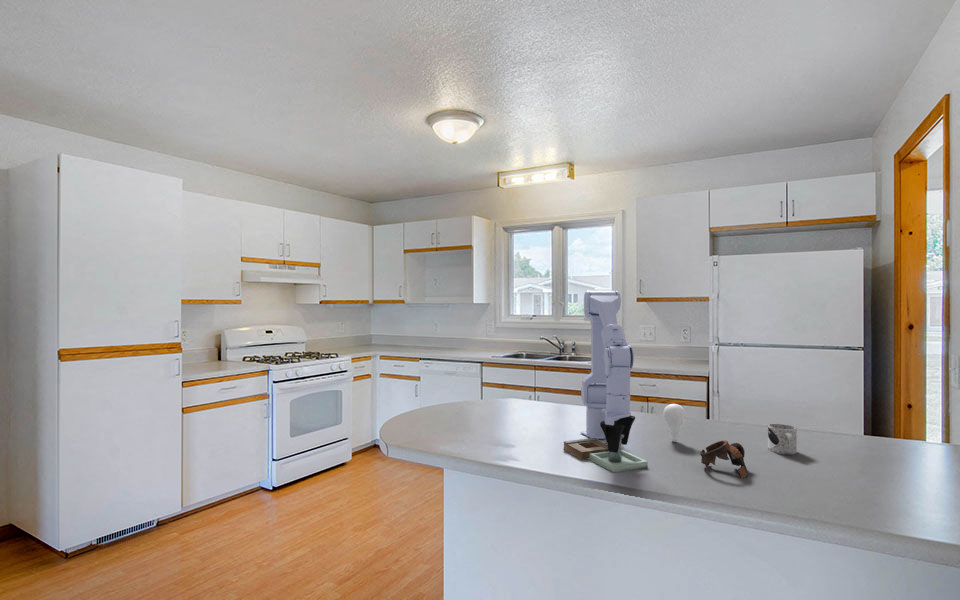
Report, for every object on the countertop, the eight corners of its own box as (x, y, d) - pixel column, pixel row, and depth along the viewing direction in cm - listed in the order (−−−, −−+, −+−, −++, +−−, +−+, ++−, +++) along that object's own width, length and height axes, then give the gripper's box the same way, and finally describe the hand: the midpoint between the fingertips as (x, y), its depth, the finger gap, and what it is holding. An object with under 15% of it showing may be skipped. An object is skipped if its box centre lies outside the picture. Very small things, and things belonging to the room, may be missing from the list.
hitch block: (594, 445, 137) (594, 437, 137) (614, 455, 128) (614, 446, 128) (563, 449, 133) (563, 441, 133) (581, 459, 125) (581, 450, 125)
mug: (764, 446, 137) (764, 422, 137) (790, 448, 136) (790, 424, 136) (778, 457, 127) (778, 432, 127) (806, 459, 126) (806, 433, 126)
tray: (622, 455, 128) (622, 449, 128) (647, 467, 119) (647, 461, 119) (589, 459, 125) (589, 453, 125) (613, 472, 116) (613, 466, 116)
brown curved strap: (740, 484, 110) (719, 450, 112) (706, 490, 117) (688, 458, 119) (764, 461, 117) (744, 429, 119) (730, 468, 124) (712, 437, 126)
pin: (613, 456, 126) (613, 430, 126) (627, 461, 122) (627, 434, 122) (602, 460, 123) (602, 433, 123) (616, 464, 120) (616, 437, 120)
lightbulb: (662, 443, 139) (663, 405, 139) (663, 438, 145) (663, 401, 145) (686, 446, 137) (686, 407, 137) (685, 440, 143) (685, 402, 143)
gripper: (611, 387, 130) (611, 438, 130) (592, 396, 118) (592, 452, 118) (638, 390, 126) (638, 442, 126) (621, 399, 114) (621, 457, 114)
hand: (618, 447), depth 122 cm, fingers open, 7 cm apart
